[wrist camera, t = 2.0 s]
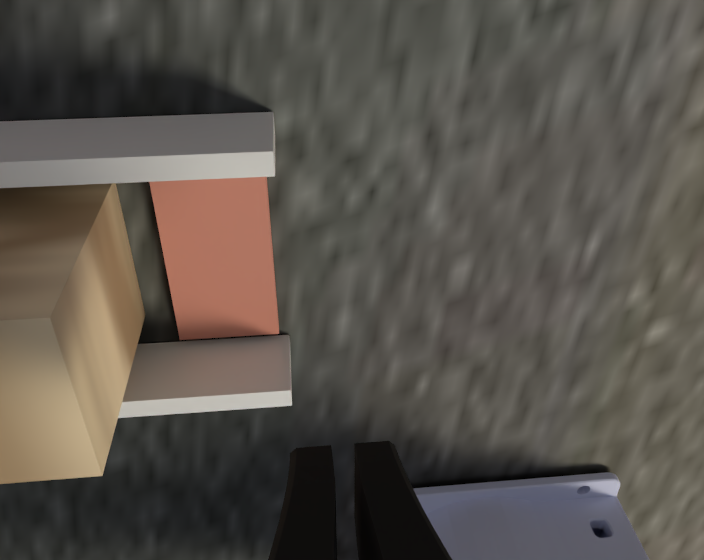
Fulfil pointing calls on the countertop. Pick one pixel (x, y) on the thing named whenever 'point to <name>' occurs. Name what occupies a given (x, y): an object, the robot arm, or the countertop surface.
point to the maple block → (63, 329)
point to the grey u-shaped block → (184, 245)
